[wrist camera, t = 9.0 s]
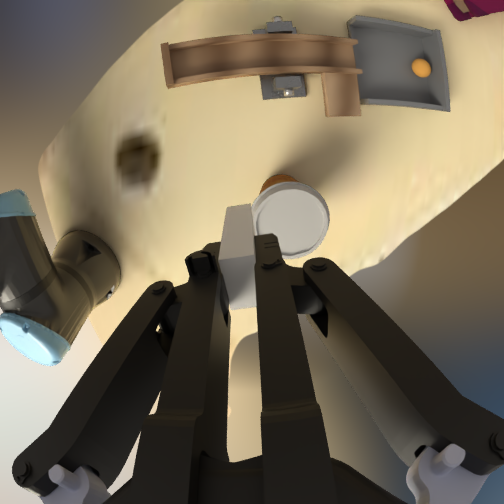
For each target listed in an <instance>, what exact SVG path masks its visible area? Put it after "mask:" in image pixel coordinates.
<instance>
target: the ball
mask: <svg viewBox="0 0 504 504" xmlns="http://www.w3.org/2000/svg"><path fill="white" fill-rule="evenodd" d="M412 70H413V72H414V73H415V74H416V75H417V76H419V77H427V76H429V75H430V73H431V67H430V65H429V63H428V62H427V61H426V60H424V59H415V60H414V61H413V62H412Z"/></svg>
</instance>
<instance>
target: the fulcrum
mask: <svg viewBox="0 0 504 504" xmlns="http://www.w3.org/2000/svg"><path fill="white" fill-rule="evenodd" d="M272 20H273V22H268V23H266V28H265V29H259V30H253V34H297V32H296V27H292V22H291V21H285V22H283V21H282V17H280V16H276V17H273V18H272ZM260 82H261V89H262V96H263V100H267V99H278V98H291V97H306V92H305V85H304V77H303V73H296V74H270V75H260Z"/></svg>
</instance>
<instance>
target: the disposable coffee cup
mask: <svg viewBox="0 0 504 504" xmlns="http://www.w3.org/2000/svg"><path fill="white" fill-rule="evenodd" d="M251 209H252V215H253V221H254V227H255V233H256V235H263V234H269V233H273V234H274V235H276V236H277V237H278V241H279V246H280V249H281V253H282V258H283V259H295V258H300V257H303V256H306V255H308V254H309V253H311V252H313V251H314V250H315V249H316V248H317V247H318V246H319V245H320V244H321V243H322V241H323V239H324V237H325V236H326V233H327V230H328V226H329V221H330V219H329V210H328V206H327V204H326V202H325V200H324V199H323V197H322V196H321V195H320V194H319V193H318V192H317V191H316V190H315V189H313V188H312V187H310V186H308V185H306V184H303V183H300V182H298V181H297V180H295V179H294V178H292V177H291V176H288V175H276V176H273V177H271V178H269V179H268V180H267V181H266V182H265V183H264V184H263V186H262V189H261V191H260V194H259V196H258V197H257V198H256V199H255V201H254V203H253V204H252V207H251Z"/></svg>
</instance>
